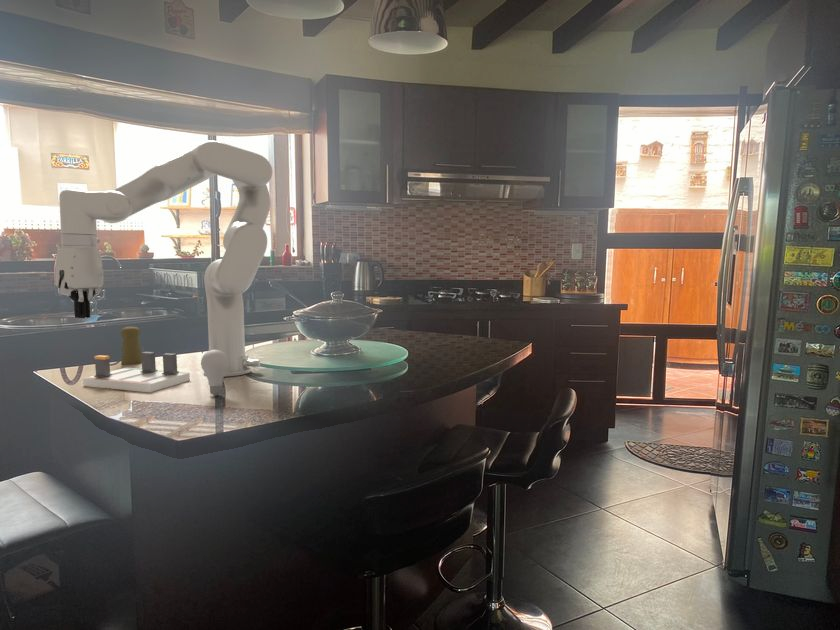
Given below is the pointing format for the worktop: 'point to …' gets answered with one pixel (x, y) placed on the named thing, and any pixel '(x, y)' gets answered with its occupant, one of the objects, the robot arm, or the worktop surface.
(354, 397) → the worktop surface
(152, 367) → the breaker
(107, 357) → the breaker
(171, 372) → the breaker
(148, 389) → the breaker panel
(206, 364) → the lightbulb
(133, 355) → the cork
